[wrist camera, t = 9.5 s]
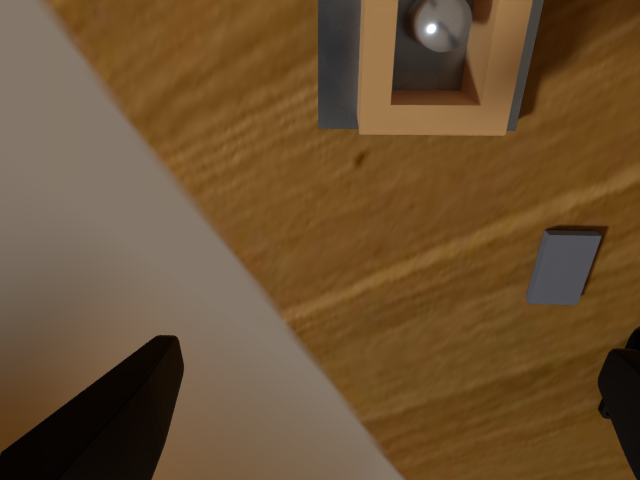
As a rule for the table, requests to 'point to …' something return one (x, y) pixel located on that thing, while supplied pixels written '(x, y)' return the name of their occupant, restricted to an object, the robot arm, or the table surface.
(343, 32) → the plate
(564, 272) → the grey rectangular block
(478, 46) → the link
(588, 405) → the table surface
